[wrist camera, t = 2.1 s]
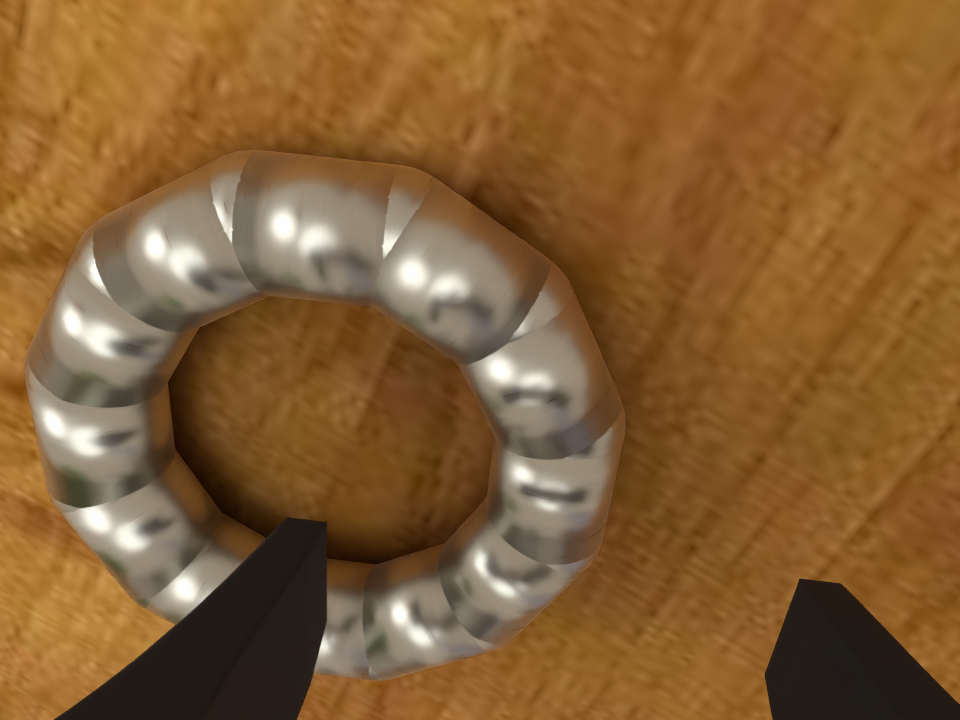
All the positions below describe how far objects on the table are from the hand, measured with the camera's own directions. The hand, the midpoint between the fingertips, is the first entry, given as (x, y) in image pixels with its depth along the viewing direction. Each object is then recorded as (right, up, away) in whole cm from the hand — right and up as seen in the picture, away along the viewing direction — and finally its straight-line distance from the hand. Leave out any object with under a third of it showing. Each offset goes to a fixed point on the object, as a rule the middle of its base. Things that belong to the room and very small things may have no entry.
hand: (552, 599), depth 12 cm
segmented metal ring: (-4, +2, +3) cm, 6 cm away
